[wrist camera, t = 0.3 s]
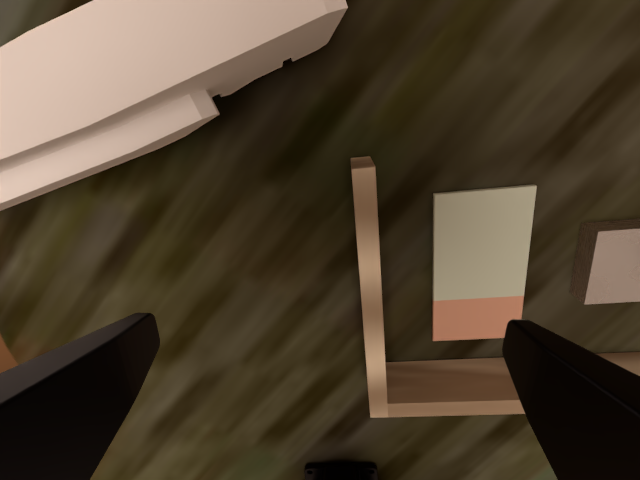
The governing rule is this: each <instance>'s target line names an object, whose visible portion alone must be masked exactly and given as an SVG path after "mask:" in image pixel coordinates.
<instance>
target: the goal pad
mask: <svg viewBox="0 0 640 480" xmlns="http://www.w3.org/2000/svg"><path fill="white" fill-rule="evenodd" d="M536 188H537V186H536V185H534V184H532V185H521V186H510V187H499V188H487V189H476V190H465V191H454V192H442V193H433V263H432V339H433V341H446V340H467V339H488V338H504V337H505V332H506V327H507V323H508V322H509V321H510V320H512V319H521V316H522V308H523V299H524V291H525V282H526V274H527V265H528V257H529V248H530V239H531V231H532V222H533V214H534V205H535V197H536Z"/></svg>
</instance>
